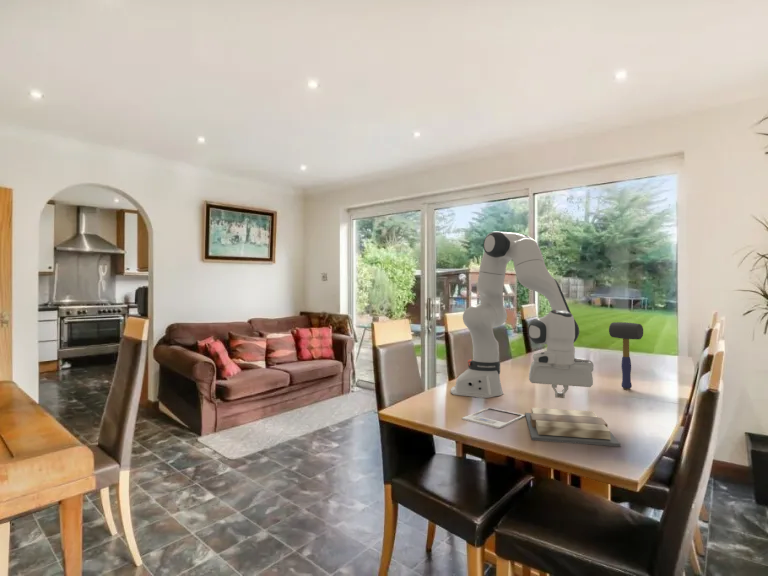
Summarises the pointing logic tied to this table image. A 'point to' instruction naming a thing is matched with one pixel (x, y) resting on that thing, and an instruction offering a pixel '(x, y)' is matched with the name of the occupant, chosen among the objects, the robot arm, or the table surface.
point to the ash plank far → (563, 412)
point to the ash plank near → (573, 429)
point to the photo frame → (489, 421)
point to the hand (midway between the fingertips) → (559, 397)
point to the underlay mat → (569, 439)
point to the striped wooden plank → (566, 419)
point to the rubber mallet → (626, 346)
